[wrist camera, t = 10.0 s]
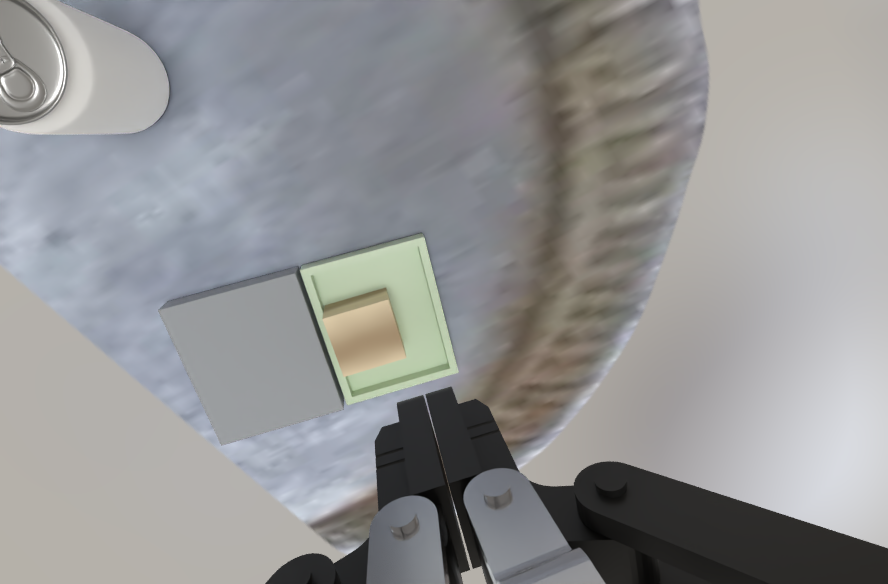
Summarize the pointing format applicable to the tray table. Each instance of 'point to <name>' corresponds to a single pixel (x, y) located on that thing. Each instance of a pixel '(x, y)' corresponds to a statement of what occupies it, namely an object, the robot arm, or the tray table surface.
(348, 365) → the tan square block
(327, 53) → the tray table surface
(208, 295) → the plate
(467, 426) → the robot arm
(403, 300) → the box
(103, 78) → the can
